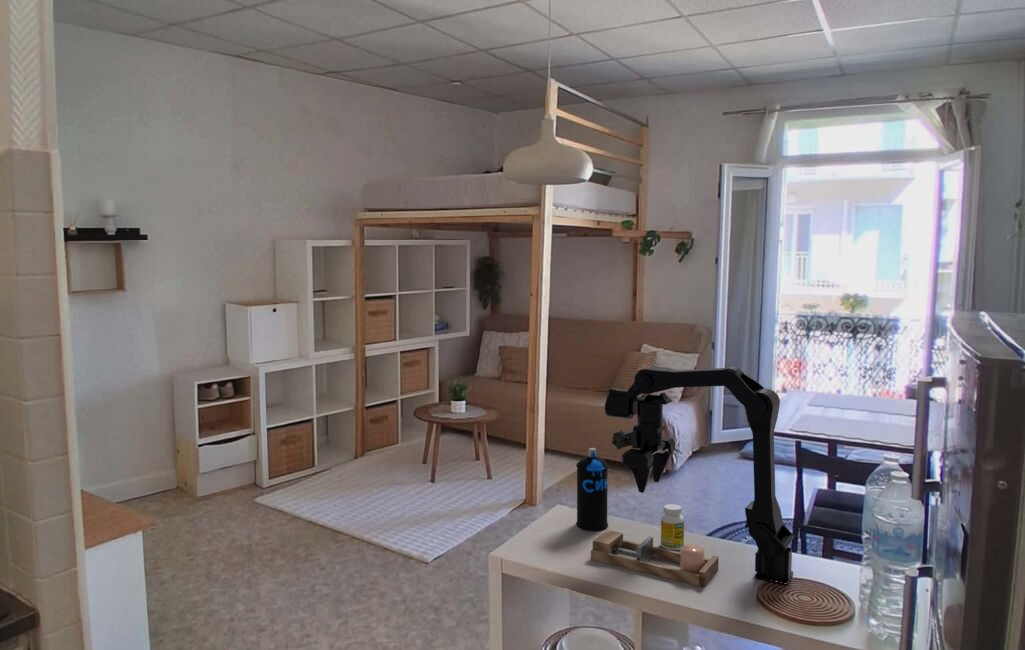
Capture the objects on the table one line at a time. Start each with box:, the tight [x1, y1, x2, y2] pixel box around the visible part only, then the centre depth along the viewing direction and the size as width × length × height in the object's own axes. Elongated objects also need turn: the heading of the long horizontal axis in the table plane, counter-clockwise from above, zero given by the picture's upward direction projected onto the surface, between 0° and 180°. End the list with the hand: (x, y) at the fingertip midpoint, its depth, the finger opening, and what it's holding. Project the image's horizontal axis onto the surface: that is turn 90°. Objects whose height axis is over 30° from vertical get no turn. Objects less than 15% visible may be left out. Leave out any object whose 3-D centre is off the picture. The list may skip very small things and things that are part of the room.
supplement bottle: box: [660, 503, 685, 551], centre depth 164 cm, size 5×5×10 cm
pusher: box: [616, 536, 654, 563], centre depth 156 cm, size 7×7×4 cm
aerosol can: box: [575, 447, 610, 532], centre depth 177 cm, size 8×8×20 cm
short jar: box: [679, 544, 706, 574], centre depth 149 cm, size 5×5×6 cm
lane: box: [590, 529, 719, 588], centre depth 154 cm, size 26×10×4 cm, turn 57°
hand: (649, 487), depth 162 cm, fingers open, 9 cm apart
